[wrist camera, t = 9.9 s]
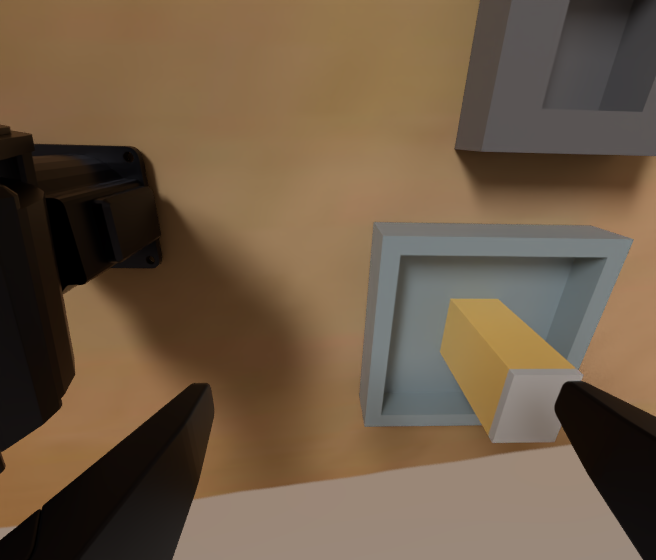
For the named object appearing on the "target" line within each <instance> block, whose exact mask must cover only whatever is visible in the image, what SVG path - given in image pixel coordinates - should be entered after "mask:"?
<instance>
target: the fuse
mask: <svg viewBox="0 0 656 560" xmlns="http://www.w3.org/2000/svg"><path fill="white" fill-rule="evenodd" d="M440 353H441V355H442V357H443V358H444V360H445V362H446V364H447V365H448V367H449V369H450V371H451V372H452V374H453V376H454V377H455V379H456V381H457V383H458V384H459V386H460V388H461V390H462V391H463V393H464V395H465V397H466V398H467V400H468V402H469V403H470V405H471V407H472V409H473V410H474V412H475V414H476V416H477V417H478V419H479V421H480V423H481V424H482V426H483V428H484V429H485V431H486V433H487V435H488V436H489V438H490V440H491V442H492V443H526V442H555V439H556V437H557V435H558V432H559V430H560V428H561V426H562V425H561V424H560V422H559V420H558V418H557V416H556V414H555V410H554V405H555V402H556V399H557V397H558V395H559V392H560V390H561V387H562V385H563V384H564V383H565V382H567V381H581V380H582V377H583V374H582V373H581V372H580V371H579V370H577V369H576V368H575V367H574V366H573V365H572V364H571V363H570V362H568V361H567V360H566V359H565V358H564V357H563V356H562V355H561V354H559V353H558V352H557V351H556V350H555V349H554V348H553V347H552V346H550V345H549V344H548V343H547V342H546V341H545V340H544V339H543V338H541V337H540V336H539V335H538V334H537V333H536V332H535V331H534V330H532V329H531V328H530V327H529V326H528V325H527V324H526V323H525V322H523V321H522V320H521V319H520V318H519V317H518V316H517V315H516V314H514V313H513V312H512V311H511V310H510V309H509V308H508V307H507V306H505V305H504V304H503V303H502V302H501V301H500V300H499V299H450V303H449V308H448V313H447V318H446V323H445V328H444V333H443V338H442V343H441V348H440Z"/></svg>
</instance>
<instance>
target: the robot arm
mask: <svg viewBox="0 0 656 560" xmlns="http://www.w3.org/2000/svg"><path fill="white" fill-rule="evenodd" d="M129 152H130V153H131V154H132V155H133V157H134V160H133V162H131V161H130V160H129V159H128V157H127V156H128V153H129ZM160 235H161V231H160V226H159V221H158V216H157V211H156V205H155V200H154V195H153V191H152V190H151V189H150V188H149V187H148V182H147V177H146V172H145V167H144V161H143V157H142V154H141V152H140V151H139V150H138V149H137V148H135V147H132V146H101V145H61V144H34V143H33V137H32V134H29V133H23V132H17V131H11V130H10V127H9V126H5V125H0V473H2V472H3V470H4V469H5V463H4V460H3V457H2V454H1V452H2V451H4V450H6V449H7V448H9V447H10V446H12V445H13V444H15V443H16V442H18V441H19V440H21V439H22V438H24V437H25V436H27V435H28V434H30V433H31V432H33V431H34V430H36V429H37V428H39V427H40V426H42V425H43V424H44V423H45V422H46V421H47V420H48V419H50V418H51V417H52V416H53V415H54V414H55V413H56V412H57V411H58V410H59V409H60V408H61V406H62V400H61V398H62V397H63V395H64V394H65V393H66V391H67V389H68V387H69V385H70V383H71V381H72V379H73V378H74V376H75V363H74V354H73V349H72V343H71V338H70V332H69V327H68V321H67V316H66V310H65V304H64V299H63V294H64V293H66V292H68V291H69V290H71V289H72V288H74V287H76V286H77V285H83V284H86V283H87V282H89V281H90V280H92V279H93V278H95V277H96V276H98V275H100V274H101V273H103V272H104V271H106V270H107V269H109V268H156V267H157V266H158V265H160V264H161V262H162V254H161V248H160V243H159V237H160ZM149 256H152V257H153V258H154V259H155V262H153V261H151V260H150V259H149ZM554 410H555V414H556V416H557V418H558V420H559V422H560V424H561V425H562V427H563V429H564V431H565V433H566V435H567V437H568V438H569V440H570V442H571V444H572V446H573V448H574V450H575V452H576V453H577V455H578V457H579V459H580V461H581V463H582V464H583V466H584V468H585V469H586V472H587V473H588V475H589V477H590V478H591V480H592V481H593V483H594V485H595V486H596V488H597V489H598V491H599V492H600V494H601V496H602V497H603V499H604V500H605V502H606V503H607V505H608V506H609V508H610V510H611V511H612V513H613V514H614V516H615V517H616V519H617V520H618V522H619V523H620V525H621V527H622V528H623V530H624V531H625V532H626V534H627V536H628V537H629V539H630V540H631V542H632V544H633V545H634V547H635V548H636V549H637V551H638V553H639V554H640V556H641V557H642V559H643V560H656V417H655V416H653V415H651V414H649V413H647V412H645V411H643V410H641V409H639V408H637V407H635V406H633V405H631V404H629V403H627V402H625V401H623V400H621V399H619V398H617V397H615V396H613V395H611V394H609V393H606V392H604V391H602V390H600V389H598V388H596V387H594V386H592V385H590V384H588V383H586V382H583V381H567V382H565V383H564V384H563V385H562V387H561V390H560V392H559V395H558V397H557V399H556V402H555V405H554ZM213 418H214V404H213V397H212V391H211V387H210V385H209V384H208V383H194V384H191V385H189V386H188V387H187V388H186V389H185V390H183V391H182V392H181V393H180V394H178V395H177V396H176V397H175V398H174V399H172V400H171V401H170V402H169V403H167V404H166V405H165V406H164V407H163V408H161V409H160V410H159V411H158V412H157V413H155V414H154V415H153V416H152V417H150V418H149V419H148V420H147V421H146V422H144V423H143V424H142V425H141V426H139V427H138V428H137V429H136V430H135V431H133V432H132V433H131V434H130V435H128V436H127V437H126V438H125V439H124V440H122V441H121V442H120V443H119V444H117V445H116V446H115V447H114V448H113V449H111V450H110V451H109V452H108V453H106V454H105V455H104V456H103V457H102V458H100V459H99V460H98V461H97V462H96V463H94V464H93V465H92V466H91V467H89V468H88V469H87V470H86V471H85V472H83V473H82V474H81V475H80V476H78V477H77V478H76V479H75V480H74V481H72V482H71V483H70V484H69V485H67V486H66V487H65V488H64V489H63V490H61V491H60V492H59V493H58V494H56V495H55V496H54V497H53V498H52V499H50V500H49V501H48V502H47V503H45V504H44V505H43V507H42V510H41V509H39V510H37V511H36V512H34V513H33V514H32V515H31V516H29V517H28V518H27V519H26V520H25V521H23V522H22V523H21V524H20V525H18V526H17V527H16V528H15V529H14V530H13V531H11V532H10V533H8V534H7V535H6V536H5V537H3V538H2V539H1V540H0V560H172V558H173V556H174V553H175V550H176V547H177V544H178V541H179V538H180V535H181V533H182V530H183V527H184V524H185V521H186V518H187V515H188V512H189V509H190V506H191V503H192V501H193V498H194V495H195V492H196V489H197V485H198V482H199V478H200V474H201V470H202V466H203V462H204V457H205V453H206V449H207V444H208V440H209V436H210V431H211V427H212V423H213Z"/></svg>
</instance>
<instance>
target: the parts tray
mask: <svg viewBox="0 0 656 560" xmlns="http://www.w3.org/2000/svg"><path fill="white" fill-rule="evenodd" d="M633 240H634V239H631V238H628V237H625V236H622V235H619V234H616V233H613V232H609V231H606V230H603V229H600V228H597V227H594V226H584V225H520V224H456V223H392V222H374V225H373V237H372V249H371V261H370V273H369V285H368V297H367V309H366V321H365V333H364V345H363V357H362V369H361V381H360V393H359V397H360V403H361V409H362V414H363V420H364V426H365V427H374V426H459V425H482V424H481V423H480V421H479V419H478V417H477V416H476V414H475V412H474V410H473V409H472V407H471V405H470V403H469V402H468V400H467V398H466V397H465V395H464V393H463V391H462V390H461V388H460V386H459V384H458V383H457V381H456V379H455V377H454V376H453V374H452V372H451V371H450V369H449V367H448V365H447V364H446V362H445V360H444V358H443V357H442V355H441V353H440V348H441V343H442V338H443V333H444V328H445V323H446V318H447V313H448V308H449V303H450V299H499V300H500V301H501V302H502V303H503V304H504V305H505V306H507V307H508V308H509V309H510V310H511V311H512V312H513V313H514V314H516V315H517V316H518V317H519V318H520V319H521V320H522V321H523V322H525V323H526V324H527V325H528V326H529V327H530V328H531V329H532V330H534V331H535V332H536V333H537V334H538V335H539V336H540V337H541V338H543V339H544V340H545V341H546V342H547V343H548V344H549V345H550V346H552V347H553V348H554V349H555V350H556V351H557V352H558V353H559V354H561V355H562V356H563V357H564V358H565V359H566V360H567V361H568V362H570V363H571V364H572V365H573V366H574V367H575V368H576V369H577V370H579V367H580V365H581V362H582V360H583V358H584V355H585V353H586V351H587V348H588V346H589V344H590V341H591V339H592V337H593V334H594V332H595V329H596V327H597V325H598V322H599V320H600V318H601V315H602V313H603V311H604V308H605V306H606V304H607V301H608V299H609V296H610V294H611V292H612V289H613V287H614V285H615V282H616V280H617V278H618V275H619V273H620V271H621V268H622V266H623V263H624V261H625V259H626V256H627V254H628V252H629V249H630V247H631V245H632V242H633Z"/></svg>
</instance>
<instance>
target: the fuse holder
mask: <svg viewBox="0 0 656 560" xmlns="http://www.w3.org/2000/svg"><path fill="white" fill-rule="evenodd" d="M455 149H459V150H470V151H481V152H519V153H558V154H598V155H637V156H656V0H480V4H479V9H478V15H477V21H476V27H475V33H474V39H473V45H472V50H471V56H470V62H469V68H468V74H467V80H466V86H465V92H464V97H463V103H462V109H461V115H460V121H459V127H458V133H457V138H456V144H455Z"/></svg>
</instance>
